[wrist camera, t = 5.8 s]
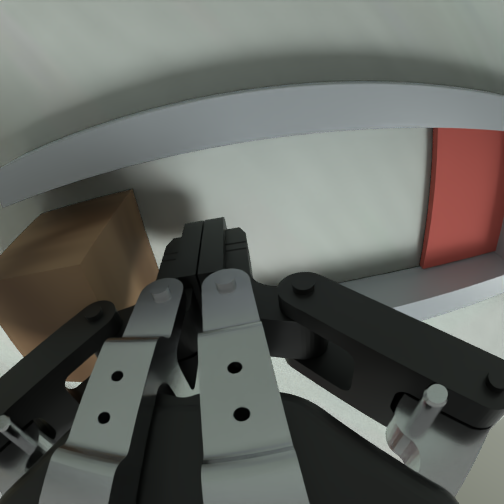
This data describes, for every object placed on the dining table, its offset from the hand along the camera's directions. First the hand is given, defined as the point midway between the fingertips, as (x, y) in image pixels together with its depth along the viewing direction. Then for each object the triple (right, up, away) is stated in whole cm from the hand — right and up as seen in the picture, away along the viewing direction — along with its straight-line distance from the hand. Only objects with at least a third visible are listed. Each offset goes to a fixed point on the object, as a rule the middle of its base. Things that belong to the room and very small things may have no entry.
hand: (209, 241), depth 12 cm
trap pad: (+13, +3, +1) cm, 13 cm away
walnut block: (-5, 0, +1) cm, 5 cm away
